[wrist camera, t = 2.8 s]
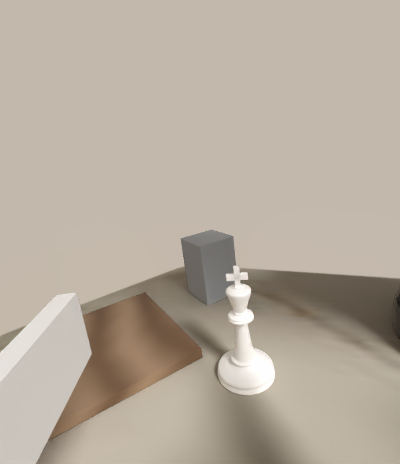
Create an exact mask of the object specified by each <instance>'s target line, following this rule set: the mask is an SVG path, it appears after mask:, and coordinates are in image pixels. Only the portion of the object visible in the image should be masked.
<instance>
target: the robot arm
mask: <svg viewBox="0 0 400 464" xmlns="http://www.w3.org/2000/svg"><path fill="white" fill-rule="evenodd" d="M392 323H393V327H394V329H395V331H396V333H397V335H398V336H399V338H400V288H399V290H398V292H397V293H396V295H395V299H394V304H393V316H392ZM91 354H92V352H91V348H90V344H89V340H88V336H87V332H86V328H85V324H84V320H83V316H82V311H81V307H80V303H79V299H78V295H77V293H67V294H58V295H56V296H55V297H54V298H53V299H52V300H51V301H50V302H49V303H48V304H47V305H46V306H45V307H44V308H43V309H42V310H41V312H39V313H38V314H37V316H36V317H35V318H34V319H33V320H32V321H31V322H30V323H29V324H28V325H27V326H26V327H25V328H24V329H23V330H22V331H21V332H20V333H19V334H18V335H17V336H16V337H15V338H14V339H13V340H12V341H11V342H10V343H9V344H8V345H7V346H6V347H5V348H4V349H3V350H2V351H1V352H0V464H36V463H37V461H38V459H39V457H40V455H41V453H42V451H43V449H44V447H45V445H46V443H47V441H48V439H49V437H50V435H51V433H52V431H53V429H54V427H55V425H56V423H57V421H58V419H59V417H60V415H61V413H62V411H63V409H64V407H65V406H66V404H67V402H68V400H69V398H70V396H71V394H72V392H73V390H74V388H75V386H76V384H77V382H78V380H79V378H80V376H81V374H82V372H83V370H84V368H85V366H86V364H87V362H88V360H89V358H90V356H91Z"/></svg>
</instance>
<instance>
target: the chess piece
mask: <svg viewBox="0 0 400 464" xmlns="http://www.w3.org/2000/svg"><path fill="white" fill-rule="evenodd" d="M233 270H234V273H230V274H226V280H227V281H235V284H233V285H230V286H229V287H228V288H227V289H226V295H227V297H228V299H229V301H230V303H231V306H232V307H233V309H232V310H231V311H230V312H229V313H228V320H229V321H230V322H231V323H233V324H235V348H234V349H232V350H230V351H228V352H226V353H225V354H224V355H223V356H222V357H221V359H220V361H219V363H218V378H219V381H220V382H221V384H222V385H223V386H224V387H225V388H226V389H228V390H229V391H231V392H233V393H236V394H240V395H254V394H258V393H261V392H263V391H265V390H266V389H268V388H269V387H270V386H271V384H272V383H273V381H274V378H275V370H274V366H273V362H272V360H271V359H270V357H269V356H268V355H267V354H266V353H264V352H263V351H261V350H259V349H256V348H253V347H252V343H251V339H250V334H249V329H248V323H250V322H251V321H252V320H253V319H254V315H253V312H252V311H251V310H249V309H247V305H248V301H249V298H250V294H251V288H250V287H249V286H247V285H245V284H241V283H240V280H248V273H247V272H242V273H240V272H239V266H233Z"/></svg>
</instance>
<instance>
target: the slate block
mask: <svg viewBox="0 0 400 464" xmlns="http://www.w3.org/2000/svg"><path fill="white" fill-rule="evenodd" d="M181 243H182V250H183V257H184V263H185V271H186V277H187V284H188V291H189V293H191V294H192V295H194V296H195V297H196V298H198V299H199V300H201V301H202V302H203V303H205V304H206V305H207V306H208V305H210V304H213V303H215V302H217V301H219V300H222V299H224V298H226V297H227V295H226V289H227V288H228V287H229V286H230V285H233V284H235V281H227V280H226V274H230V273H234V270H233V266H236V262H235V251H234V241H233V236H231V235H227V234H224V233H220V232H217V231H214V230H209V231H205V232H202V233H199V234H195V235H192V236H188V237H185V238H181Z"/></svg>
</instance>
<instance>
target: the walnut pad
mask: <svg viewBox="0 0 400 464" xmlns="http://www.w3.org/2000/svg"><path fill="white" fill-rule="evenodd" d="M82 316H83V320H84V324H85V328H86V332H87V336H88V340H89V344H90V348H91V352H92V354H91V356H90V358H89V360H88V362H87V364H86V366H85V368H84V370H83V372H82V374H81V376H80V378H79V380H78V382H77V384H76V386H75V388H74V390H73V392H72V394H71V396H70V398H69V400H68V402H67V404H66V406H65V407H64V409H63V411H62V413H61V415H60V417H59V419H58V421H57V423H56V425H55V427H54V429H53V431H52V433H51V435H50V437H49V439H48V440H50V439H52V438H54V437H56V436H58V435H59V434H61V433H63V432H65V431H67V430H69V429H70V428H72V427H74V426H76V425H78V424H80V423H82V422H83V421H85V420H87V419H89V418H91V417H93V416H95V415H96V414H98V413H100V412H102V411H104V410H106V409H107V408H109V407H111V406H113V405H115V404H117V403H119V402H120V401H122V400H124V399H126V398H128V397H130V396H131V395H133V394H135V393H137V392H139V391H141V390H143V389H144V388H146V387H148V386H150V385H152V384H154V383H156V382H157V381H159V380H161V379H163V378H165V377H167V376H168V375H170V374H172V373H174V372H176V371H178V370H180V369H181V368H183V367H185V366H187V365H189V364H191V363H192V362H194V361H196V360H198V359H200V358H202V351H201V348H200V347H199V346H198V345H197V344H196V343H195V342H194V341H193V340H192V339H191V338H190V337H189V336H188V335H187V334H186V333H185V332H184V331H183V330H182V329H181V328H180V327H179V326H178V325H177V324H176V323H175V322H174V321H173V320H172V319H171V318H170V317H169V316H168V315H167V314H166V313H165V312H164V311H163V310H162V309H161V308H160V307H159V306H158V305H157V304H156V303H155V302H154V301H153V300H152V299H151V298H150V297H149V296H148V295H147V294H146V293H142V294H139V295H136V296H134V297H131V298H128V299H126V300H123V301H120V302H117V303H115V304H112V305H109V306H107V307H104V308H101V309H98V310H96V311H93V312H90V313H88V314H85V315H82Z"/></svg>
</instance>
